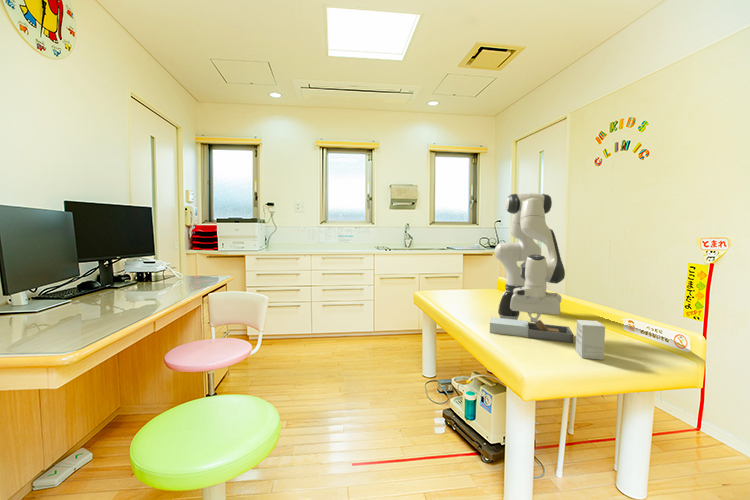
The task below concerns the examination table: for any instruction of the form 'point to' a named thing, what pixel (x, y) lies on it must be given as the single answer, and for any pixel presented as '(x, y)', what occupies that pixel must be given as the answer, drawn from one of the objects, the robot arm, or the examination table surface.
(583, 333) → the supplement box
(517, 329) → the pale grey flat block
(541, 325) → the tile
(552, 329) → the tile
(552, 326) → the tray
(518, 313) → the pump dispenser
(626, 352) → the examination table surface
